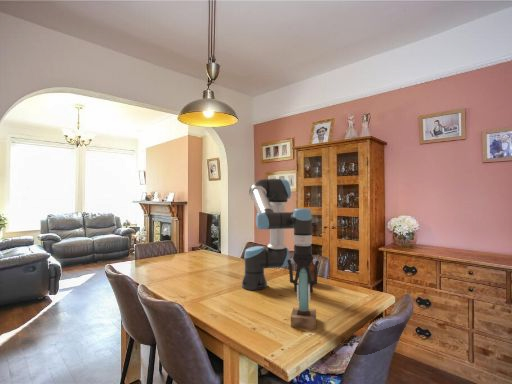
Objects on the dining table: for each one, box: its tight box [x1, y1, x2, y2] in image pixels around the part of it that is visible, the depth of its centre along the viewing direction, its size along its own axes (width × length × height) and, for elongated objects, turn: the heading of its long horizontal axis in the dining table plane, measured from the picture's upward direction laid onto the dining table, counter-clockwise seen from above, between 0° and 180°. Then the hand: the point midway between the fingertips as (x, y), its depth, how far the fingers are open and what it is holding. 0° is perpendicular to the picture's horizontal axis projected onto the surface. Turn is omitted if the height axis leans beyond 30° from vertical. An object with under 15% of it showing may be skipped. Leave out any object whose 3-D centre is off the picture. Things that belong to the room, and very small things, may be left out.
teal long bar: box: [298, 267, 310, 312], centre depth 116 cm, size 4×4×18 cm
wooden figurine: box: [298, 261, 315, 284], centre depth 169 cm, size 12×6×18 cm, turn 124°
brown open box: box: [290, 307, 317, 330], centre depth 115 cm, size 10×10×4 cm
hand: (303, 299), depth 115 cm, fingers closed on teal long bar, 4 cm apart
